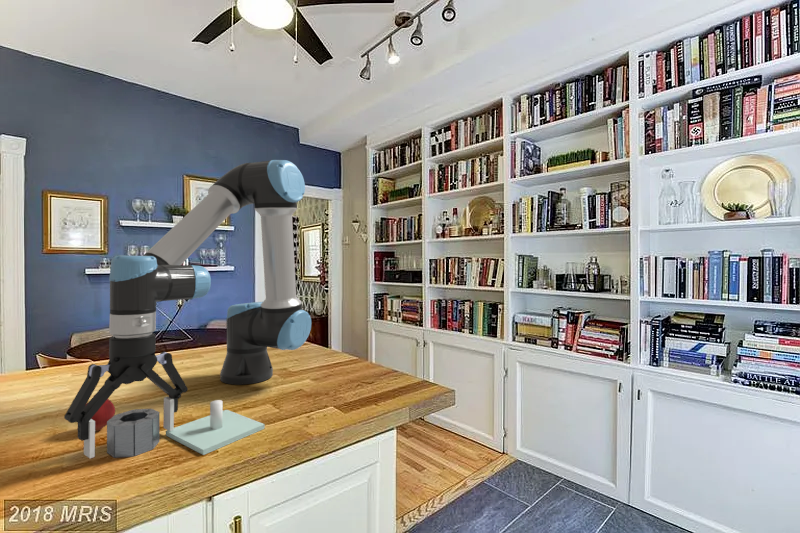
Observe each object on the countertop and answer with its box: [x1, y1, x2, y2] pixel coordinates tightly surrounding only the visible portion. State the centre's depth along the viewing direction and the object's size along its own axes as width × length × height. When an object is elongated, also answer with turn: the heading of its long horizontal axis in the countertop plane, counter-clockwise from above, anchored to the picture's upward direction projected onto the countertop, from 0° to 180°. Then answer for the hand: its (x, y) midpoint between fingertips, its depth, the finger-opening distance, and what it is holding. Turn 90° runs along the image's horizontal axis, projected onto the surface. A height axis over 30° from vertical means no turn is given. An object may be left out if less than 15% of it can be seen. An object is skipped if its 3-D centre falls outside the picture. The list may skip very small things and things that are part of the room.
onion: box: [85, 398, 116, 432], centre depth 85 cm, size 6×6×8 cm
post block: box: [165, 399, 266, 456], centre depth 85 cm, size 14×14×6 cm
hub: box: [106, 408, 160, 459], centre depth 78 cm, size 8×8×6 cm
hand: (131, 442), depth 77 cm, fingers open, 13 cm apart
